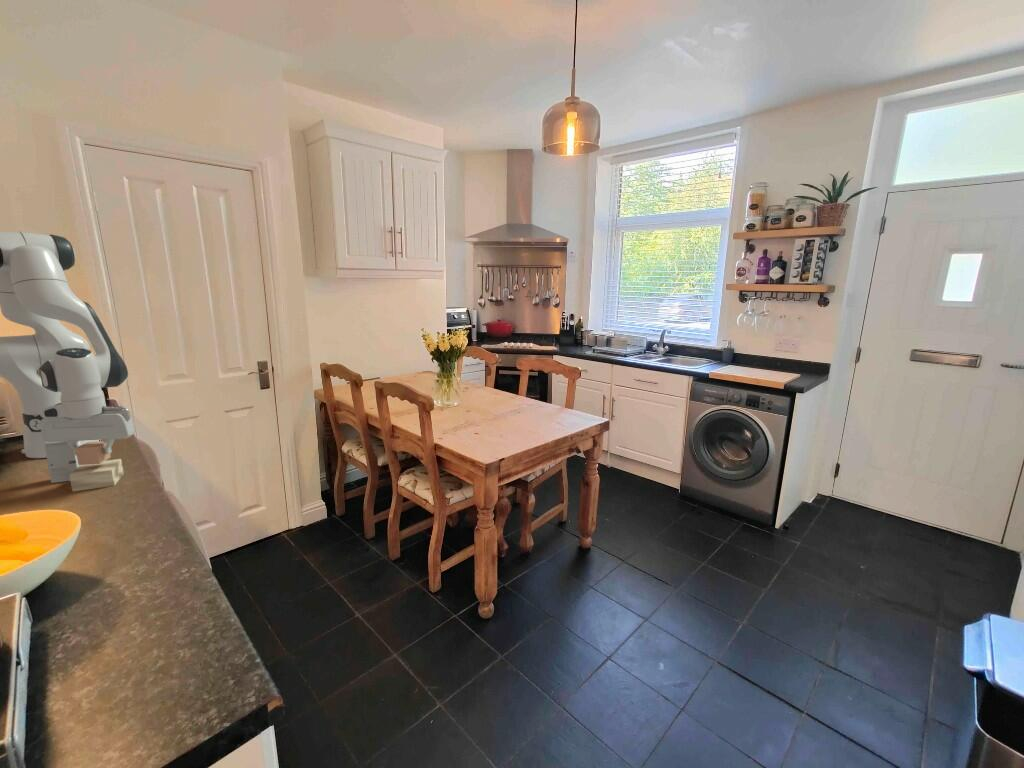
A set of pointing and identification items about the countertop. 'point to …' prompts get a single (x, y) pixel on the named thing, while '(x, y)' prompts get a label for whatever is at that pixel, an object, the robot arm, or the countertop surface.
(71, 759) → the countertop surface
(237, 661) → the countertop surface
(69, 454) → the skincare box
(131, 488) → the countertop surface
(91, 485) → the birch block
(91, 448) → the terracotta cube
